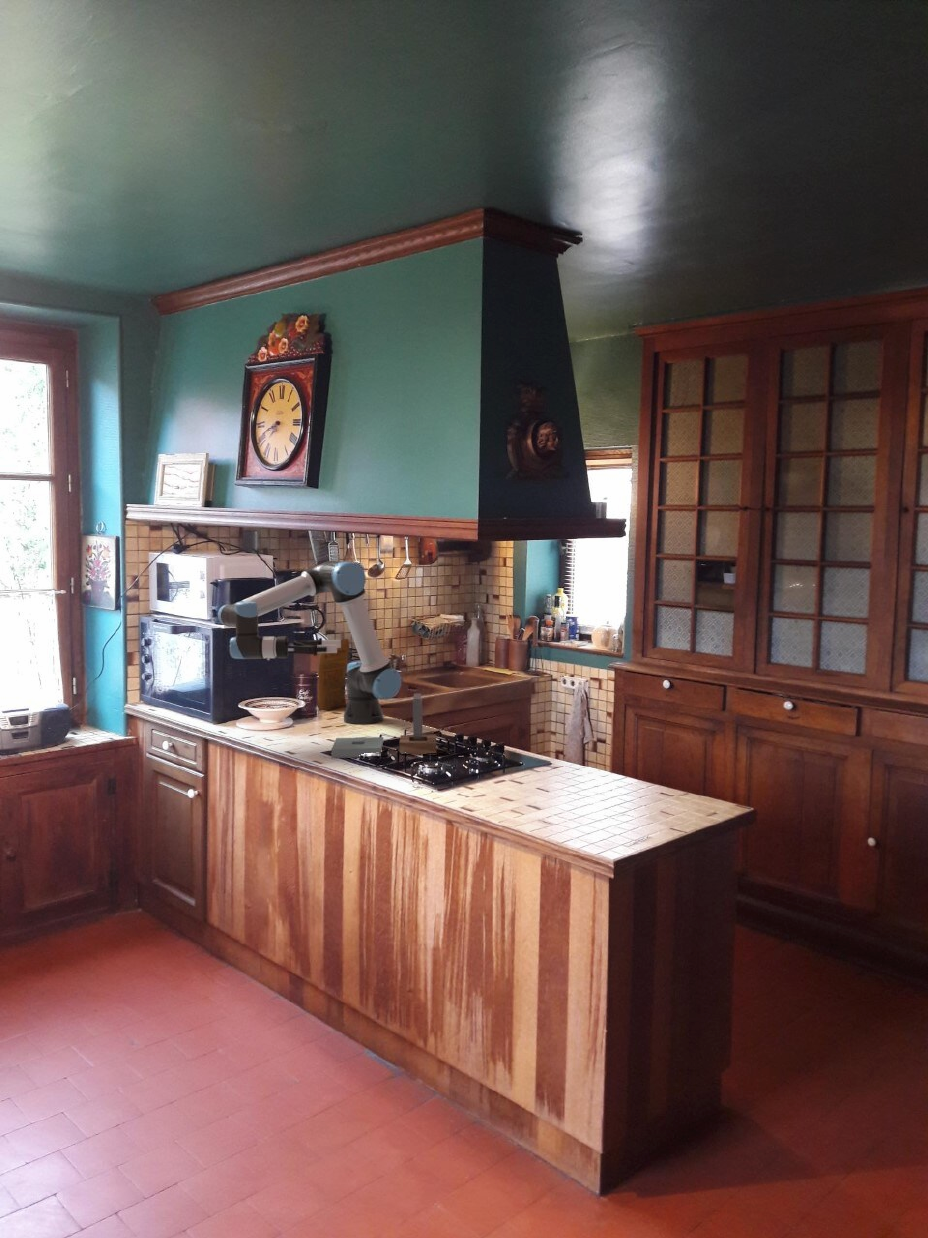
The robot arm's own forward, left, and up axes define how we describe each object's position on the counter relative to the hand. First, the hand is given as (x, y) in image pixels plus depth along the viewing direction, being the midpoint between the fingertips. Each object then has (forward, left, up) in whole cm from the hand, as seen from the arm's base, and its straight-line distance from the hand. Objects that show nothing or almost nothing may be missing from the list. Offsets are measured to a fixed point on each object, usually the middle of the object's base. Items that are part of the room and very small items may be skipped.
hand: (338, 646), depth 340 cm
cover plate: (+12, +7, -34) cm, 37 cm away
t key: (+12, +27, -34) cm, 45 cm away
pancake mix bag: (-66, -9, -34) cm, 75 cm away
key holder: (+12, +27, -34) cm, 45 cm away
